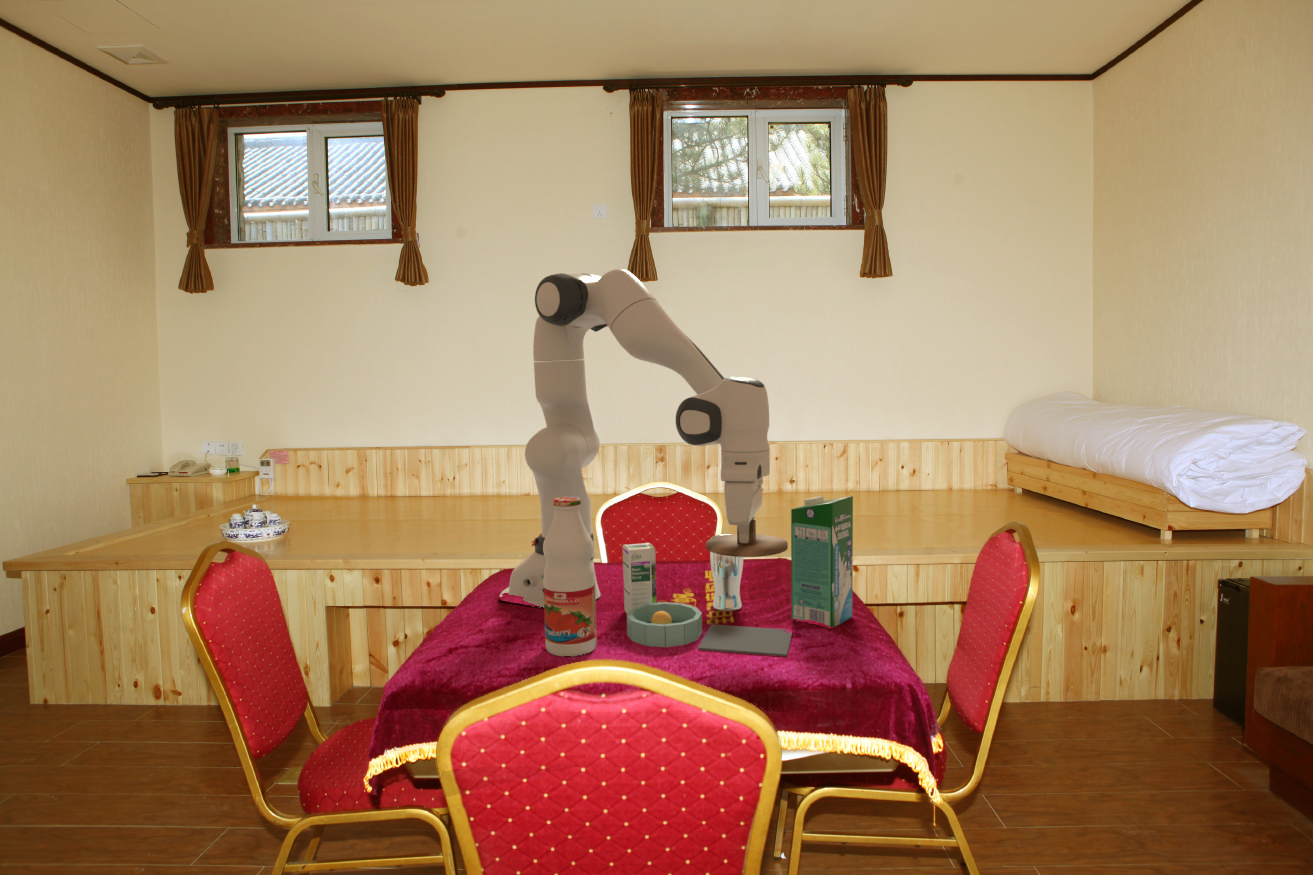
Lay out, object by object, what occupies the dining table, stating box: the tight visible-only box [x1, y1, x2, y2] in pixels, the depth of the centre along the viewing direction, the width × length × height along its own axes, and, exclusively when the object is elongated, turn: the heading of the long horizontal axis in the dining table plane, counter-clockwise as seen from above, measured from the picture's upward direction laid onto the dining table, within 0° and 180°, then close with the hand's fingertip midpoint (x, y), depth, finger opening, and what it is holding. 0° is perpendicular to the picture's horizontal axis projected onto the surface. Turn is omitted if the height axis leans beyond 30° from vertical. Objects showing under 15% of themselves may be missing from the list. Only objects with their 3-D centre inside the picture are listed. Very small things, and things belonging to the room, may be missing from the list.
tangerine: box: [651, 611, 672, 624], centre depth 152 cm, size 4×4×4 cm
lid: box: [705, 519, 789, 558], centre depth 146 cm, size 15×15×5 cm
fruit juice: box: [543, 496, 598, 657], centre depth 144 cm, size 9×9×28 cm
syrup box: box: [622, 542, 658, 615], centre depth 164 cm, size 6×6×14 cm
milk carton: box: [790, 495, 854, 628], centre depth 158 cm, size 9×9×25 cm
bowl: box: [626, 601, 703, 648], centre depth 152 cm, size 14×14×4 cm
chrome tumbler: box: [709, 533, 744, 612], centre depth 168 cm, size 7×7×15 cm
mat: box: [697, 624, 793, 658], centre depth 148 cm, size 16×13×1 cm
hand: (746, 539), depth 146 cm, fingers closed on lid, 3 cm apart
